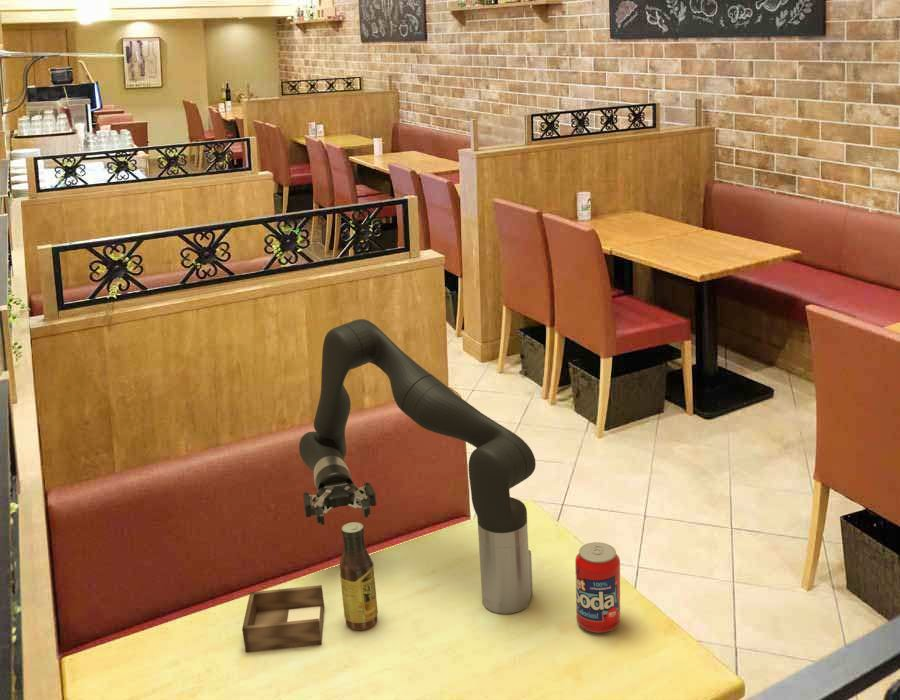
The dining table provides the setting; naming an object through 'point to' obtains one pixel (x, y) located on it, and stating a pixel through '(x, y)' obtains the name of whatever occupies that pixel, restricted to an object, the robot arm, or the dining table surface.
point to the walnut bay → (284, 618)
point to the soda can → (597, 587)
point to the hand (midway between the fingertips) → (344, 517)
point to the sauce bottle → (357, 579)
